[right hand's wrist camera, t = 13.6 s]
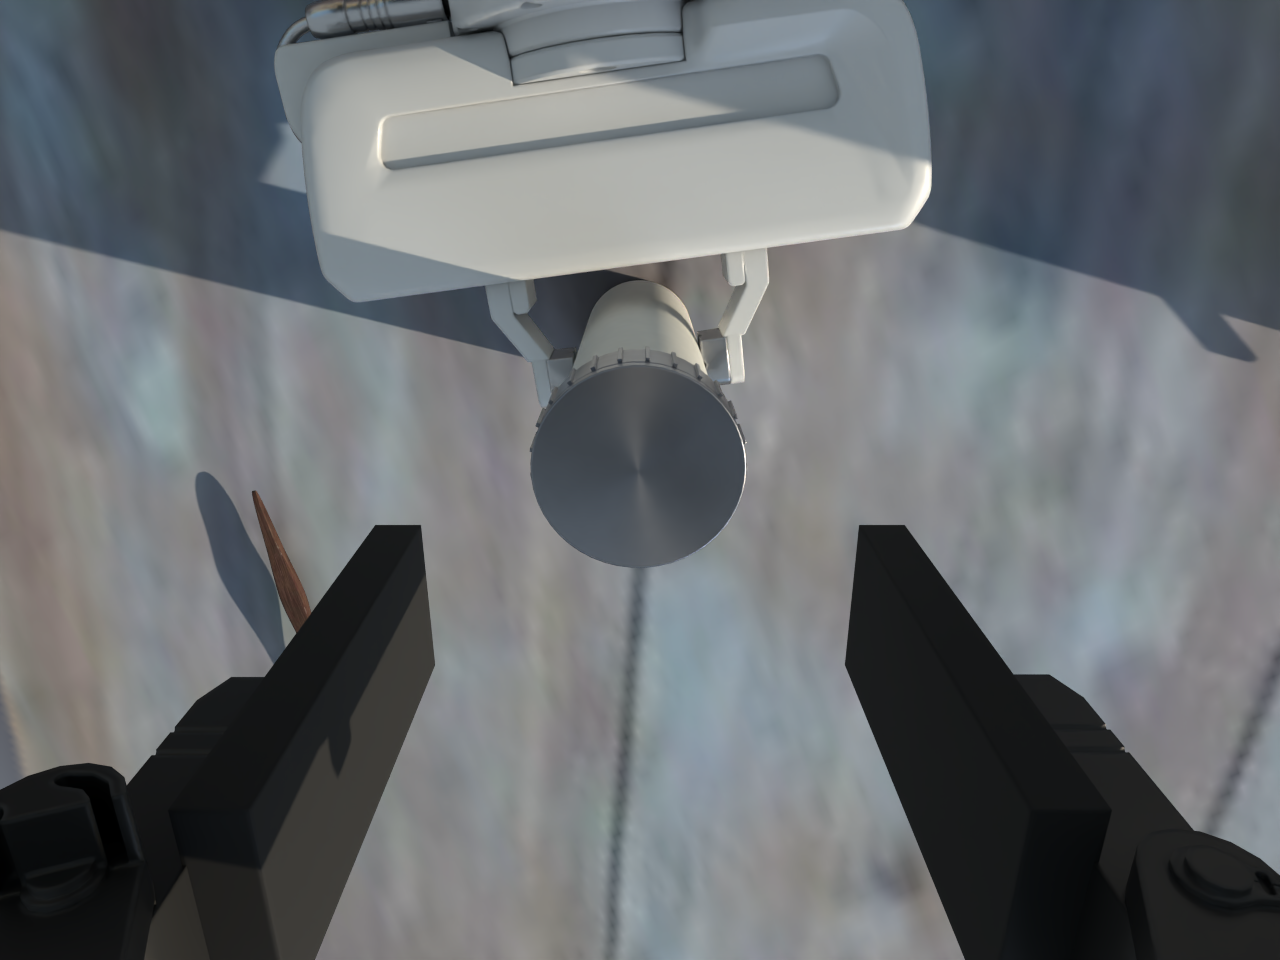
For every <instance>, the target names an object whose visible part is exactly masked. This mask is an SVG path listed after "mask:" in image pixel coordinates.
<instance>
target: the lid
mask: <svg viewBox="0 0 1280 960" xmlns="http://www.w3.org/2000/svg"><path fill="white" fill-rule="evenodd" d="M736 419H738V417H737V414H736V412H735V409H734V406H733V404H732V402H731V400H730V401H727V399H726V397H725V396H724V394H723V393H722V391H721V388H720V385H719V382H718V381H717V380H715V381H713V380H712V379H711V378H710V377H709V376H708V375H707V374H705V373H704V372H703V371H702V370H701V369H700V366H699V364H697V363H695V365H693V364H691V363H690V362H688V361H686V360H684V359H682V358H679V357H677V356H676V353H675V352H671V354H668V353H665V352H661V351H655V350H650V347H648V346H645V349H629V350H623V347H621V348H619V349H618V351H616V352H612V353H608V354H605V355H603V356H600V357H598V356H597V355H594V356H593V359H592V360H591V361H589V362H588V363H586V364H584V365H582V366H581V367H579V368H578V369H577V370H576V369H575V368H573V369H572V370H571V371H570V374H569V376H568V377H567V378H566V379H565V380H564V381H563V382H562V384H561V385H560V386H559V387H556V386H555V387H554V389H553V391H552V394H551V396H550V399H549V402H548V405H547V408H546V409H545V408H543V409H542V411H541V414H540V416H539V419H538V421H537V424H536V427H538V431H537V432H536V434H535V437H534V439H533V442H532V445H531V447H530V452H532V454H531V479H532V484H533V490H534V493H535V496H536V499H537V502H538V504H539V506H540V508H541V510H542V512H543V514H544V516H545V517H546V519H547V520H548V522H549V523H550V525H551V526H552V527H553V528H554V530H555V531H556V532H557V533H558V534H559V535H560V536H561V537H562V538H563V539H564V540H565V541H566V542H568V543H569V544H570V545H571V546H573V547H574V548H576V549H577V550H579V551H580V552H582V553H584V554H586V555H588V556H590V557H591V558H594V559H596V560H599V561H602V562H604V563H608V564H612V565H616V566H623V567H631V568H645V567H654V566H661V565H665V564H669V563H672V562H675V561H678V560H681V559H684V558H685V557H687V556H689V555H691V554H693V553H695V552H697V551H698V550H700V549H701V548H703V547H704V546H706V545H707V544H708V543H709V542H711V541H712V540H713V539H714V538H715V537H716V536H717V535H718V534H719V533H720V532H721V531H722V530H723V529H724V527H725V526H726V525H727V523H728V522H729V520H730V519H731V517H732V516H733V514H734V512H735V510H736V508H737V506H738V504H739V502H740V499H741V496H742V493H743V489H744V484H745V479H746V469H747V463H746V455H745V448H744V444H745V443H746V440H745V437H744V435H743V432H742V429H741V427H740V424H737V423H736Z"/></svg>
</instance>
